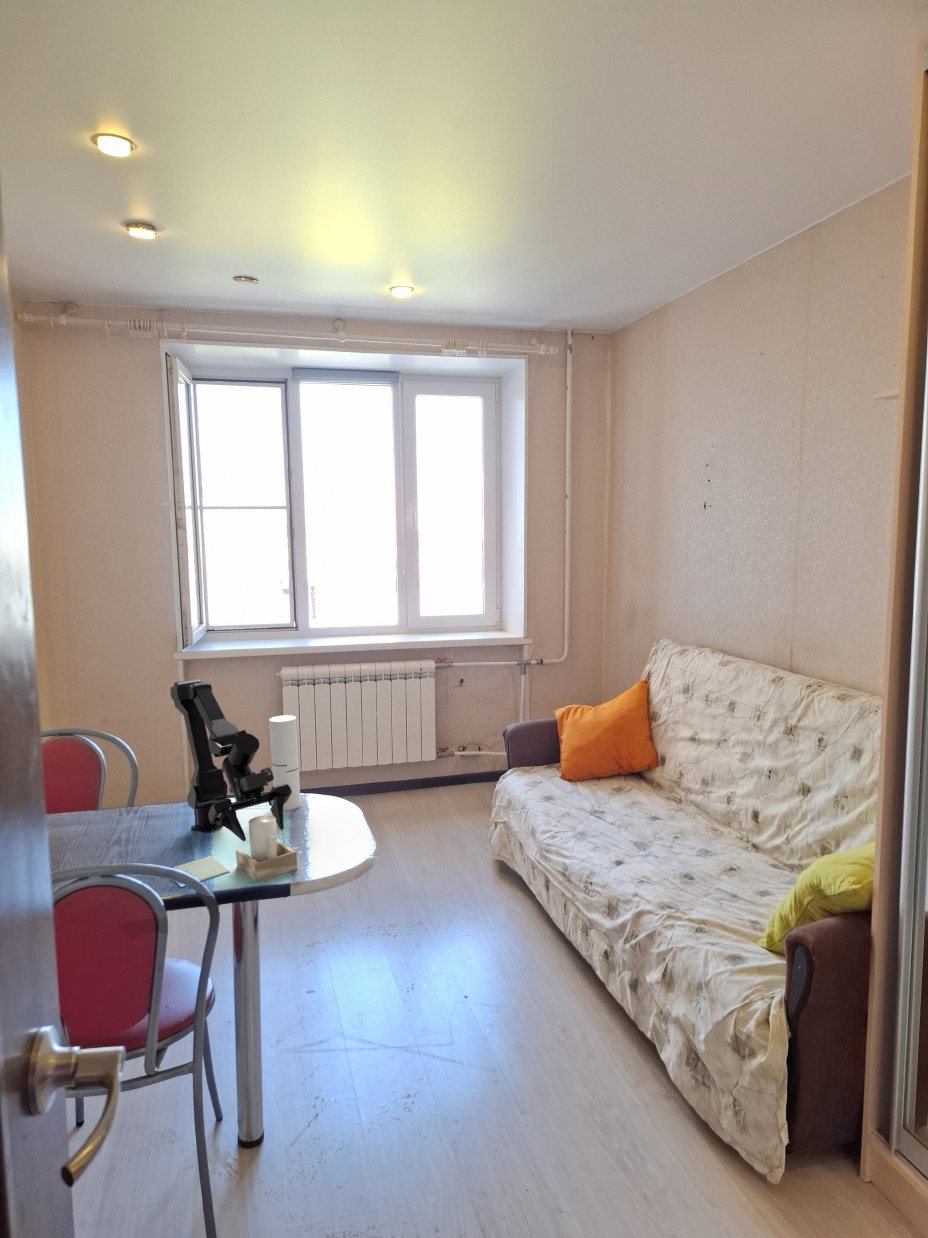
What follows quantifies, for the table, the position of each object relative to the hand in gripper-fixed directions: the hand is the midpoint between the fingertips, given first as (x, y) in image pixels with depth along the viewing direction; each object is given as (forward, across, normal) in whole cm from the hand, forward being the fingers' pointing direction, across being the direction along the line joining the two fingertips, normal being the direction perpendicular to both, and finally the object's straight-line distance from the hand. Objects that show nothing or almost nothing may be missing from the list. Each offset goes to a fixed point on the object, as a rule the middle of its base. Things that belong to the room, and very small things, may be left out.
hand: (263, 835), depth 173 cm
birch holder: (+5, 0, +6) cm, 8 cm away
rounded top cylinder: (+5, 0, +6) cm, 8 cm away
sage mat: (-1, -13, +12) cm, 17 cm away
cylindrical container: (-18, +22, +29) cm, 41 cm away
